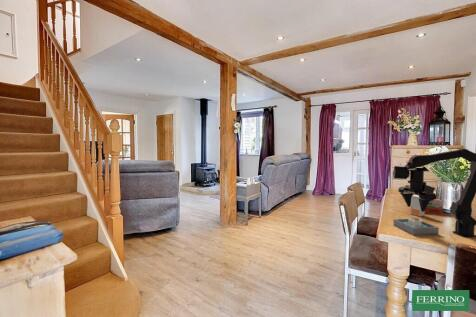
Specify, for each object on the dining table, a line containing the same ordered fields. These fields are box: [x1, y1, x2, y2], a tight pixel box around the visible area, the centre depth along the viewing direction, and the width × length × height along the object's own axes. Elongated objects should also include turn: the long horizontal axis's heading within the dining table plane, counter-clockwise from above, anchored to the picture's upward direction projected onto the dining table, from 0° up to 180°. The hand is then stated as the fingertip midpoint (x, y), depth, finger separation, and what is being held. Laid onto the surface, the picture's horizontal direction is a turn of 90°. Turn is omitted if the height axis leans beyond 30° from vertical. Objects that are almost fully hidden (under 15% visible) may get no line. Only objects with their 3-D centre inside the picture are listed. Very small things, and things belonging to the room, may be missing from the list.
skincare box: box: [409, 194, 425, 217], centre depth 149 cm, size 6×4×12 cm
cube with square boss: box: [407, 217, 423, 227], centre depth 125 cm, size 4×4×6 cm
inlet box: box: [393, 218, 439, 236], centre depth 125 cm, size 14×13×4 cm
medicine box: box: [424, 198, 444, 215], centre depth 157 cm, size 15×8×8 cm, turn 62°
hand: (415, 209), depth 125 cm, fingers open, 9 cm apart
